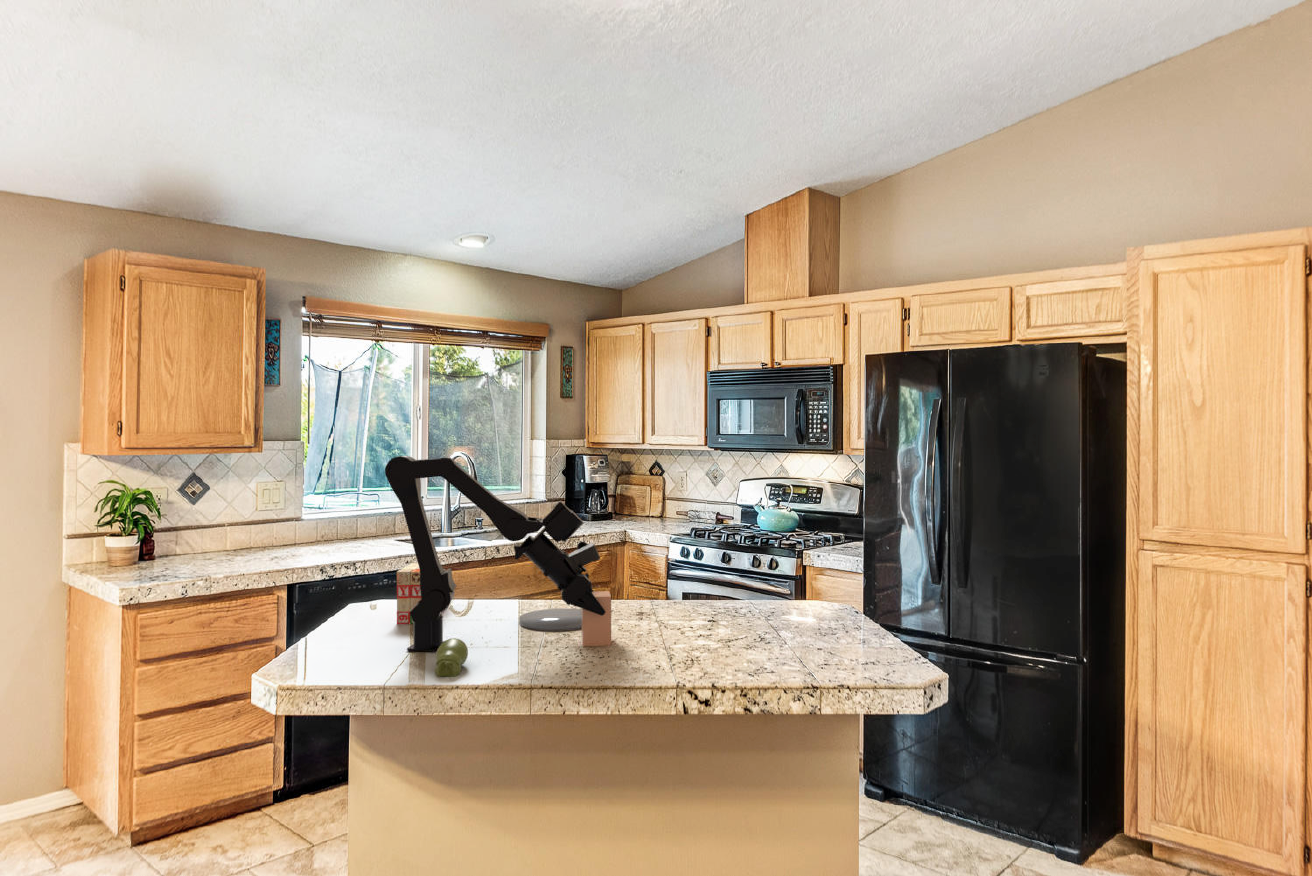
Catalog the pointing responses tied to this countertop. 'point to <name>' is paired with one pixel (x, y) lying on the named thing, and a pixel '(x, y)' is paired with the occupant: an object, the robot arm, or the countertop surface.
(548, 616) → the slate plate
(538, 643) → the countertop surface
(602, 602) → the tall clay pillar
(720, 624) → the countertop surface
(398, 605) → the stack of blocks
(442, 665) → the green rounded piece
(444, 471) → the robot arm
